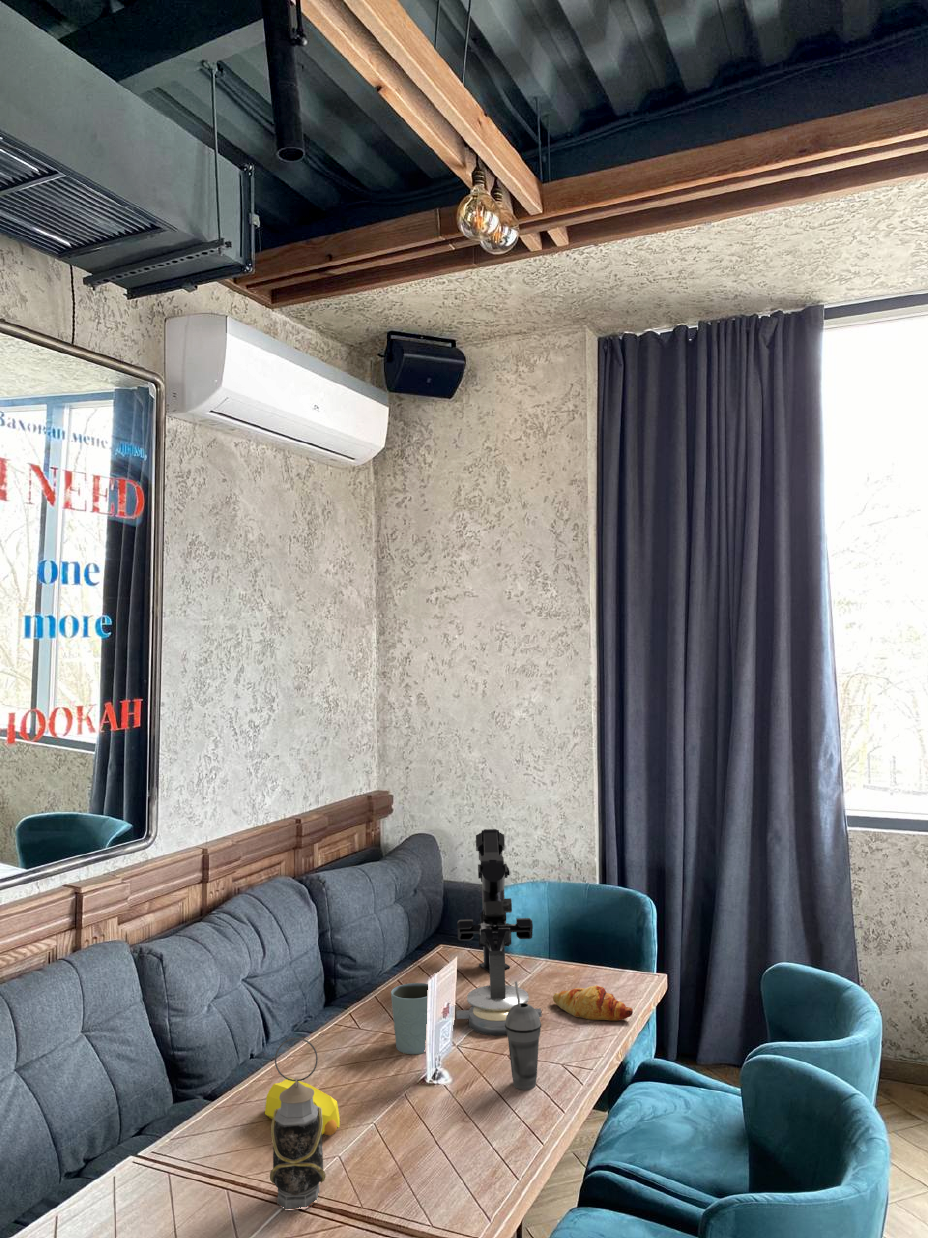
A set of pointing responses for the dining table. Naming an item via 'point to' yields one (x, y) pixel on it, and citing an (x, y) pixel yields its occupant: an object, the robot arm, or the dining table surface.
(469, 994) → the disc with square post
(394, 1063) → the dining table surface
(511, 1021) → the beverage cup
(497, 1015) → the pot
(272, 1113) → the yellow rounded lump
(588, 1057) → the dining table surface
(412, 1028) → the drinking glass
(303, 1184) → the lantern
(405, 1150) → the dining table surface
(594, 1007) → the croissant
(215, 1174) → the dining table surface
